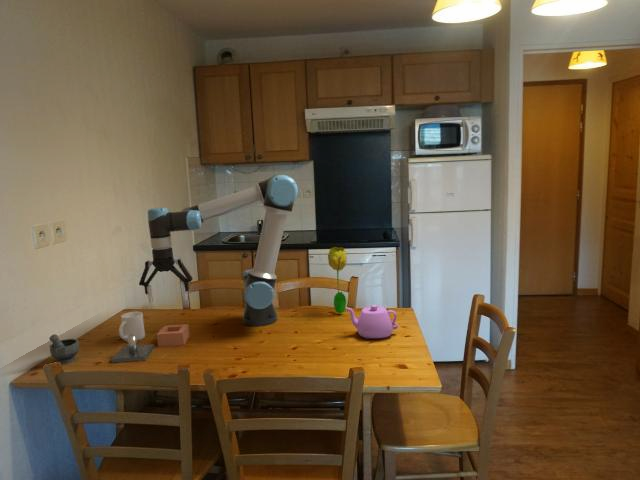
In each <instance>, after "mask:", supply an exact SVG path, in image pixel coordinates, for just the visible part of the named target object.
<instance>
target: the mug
mask: <svg viewBox="0 0 640 480" xmlns="http://www.w3.org/2000/svg"><path fill="white" fill-rule="evenodd" d="M143 314H144V313H143V312H142V311H129V312H126V313H123V314H121V315H120V320H121V321H120V322H121V323H120V325H119V327H118V334H119V337H120V338H121V339H122V340H124V342H126V341H127V342H126V343H128V339H127V336H129V335H136V340H137V342H139V341H142V340H143V339H144V338H145V337H146V332H145V322H144V315H143ZM138 340H139V341H138Z"/></svg>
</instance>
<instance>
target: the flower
mask: <svg viewBox="0 0 640 480" xmlns="http://www.w3.org/2000/svg"><path fill="white" fill-rule="evenodd" d="M327 258H328V259H327V261H328V265H329V266H330V268H331V269H332V270H334V271H336V279H337V281H336V282H337V293H336V294H335V295H334V297H333V307H334V310H335V312H336V313H338V314H339V315H342V313H345V311H346V308H345V307H347V306H346V305H347V304H346V303H347V298H346V296H345V294H344V293H343V291H341V292H340V290H339V288H340V287H339V285H340V284H339V283H340V282H339V272H340V271H342V270H343V269H344V268H345V267H346V265H347V263H348V260H347V258H348V257H347V249H345V248H344V247H342V246H341V247H338V246H334V247H331V248H330V249H329V250H328V253H327Z"/></svg>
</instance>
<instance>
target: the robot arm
mask: <svg viewBox="0 0 640 480" xmlns="http://www.w3.org/2000/svg"><path fill="white" fill-rule="evenodd" d="M297 185H298V184H297V183H296V181H295V180H294V178H292V177H290V175H285V174H275V175H273V176H271V177H269V178H267V179H265V180H263V181H260V182H257V183H256V185H255V186H252V187H250V188H246V189H242V190H240V191H237V192H233V193H230V194H228V195H225V196H220V197H219V198H218V197H217V198H215V199H212V200H211V199H210V200H209V201H206V202H202V203H200V204H196V205H194V206H190V207H185V208H182V210H181V211H173V212H172V211H169V210H168V208H167V207H155V208H149V209H148V210H147V223H148V228H149V236H150V237H149V238H150V244H151V245H150V246H151V249H152V250H151V252H152V259H153V260H151V261H150V260H146V261H145V262H144V269H143V273H142V275H141V278H140V279H139V283H138V285H139V286H143V287H144V293H145V295H147V297H148V298H147V299H148V304H151V303H153V301H154V297H153V292H152V291H153V290H152V284H150V283H151V282H152V281H153V279H154V278H155V276H156V275H157V273H158V272H160V273H162V272H170V273H173V274H174V275H175V276H176V277H177V278H178V279H179V280H180V281H181V282H182V285H181V287H182V294H183V301H187V299H188V293H187V292H188V291H189V290H190V286H189V283H190V282H192V281H193V279H194V278H193V277H192V275H191V274H190V273H191V272H190V271H188V268H187V267H186V266H185V265H184V263H183V259H182V258H181V257H179V258H177V259H174V253H173V247H172V244H173V243H172V236H171V235H172V234H171V232H173V233H174V232H181V231H182V232H183V231H194V230H200V229H201V228H202V223H205V222H207V221H211V220H213V219H214V220H215V219H218V218H221V217H223V216H226V215H230V214H232V213H236V212H239V211H242V210H245V209H248V208H251V207H254V206H258V205H263V207H264V209H265V214H264V219H263V223H262V227H261V232H260V236H259V241H258V246H257V250H256V255H255V260H254V264H253V267H252V268H251V269H247V270H244V271H243V272H242V279H243V291H244V292H243V296H244V297H243V299H244V302H245V306H244V310H243V313H242V323H243V324H244V325H246V326H248V327H249V326H251V327H261V326H267V325H271V324H274V323H275V322H277V321H278V313H277V310H276V308H275V305H274V303H273V301H274V299H275V297H276V296H275V287H276V284H277V278H278V276H277V274H276V273H275V270H276V266H277V261H278V258H279V253H280V248H281V244H282V240H283V235H284V230H285V226H286V223H287V216H288V215H290V214H291V213H292V212H293V208H294V204H295V201H296V199H297V197H298V193H299V191H298V190H299V189H298V186H297ZM175 264H176V266H177V265H178V267H179V269H180V270H181V271H179V270H178V269H177V268H176V266H175ZM151 266H153V267H154V269H153V271H152V273H151V274H150V275H149V277H147V276H148V273H149V270H150V268H151ZM181 272H182V273H181ZM146 279H147V280H146Z"/></svg>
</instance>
